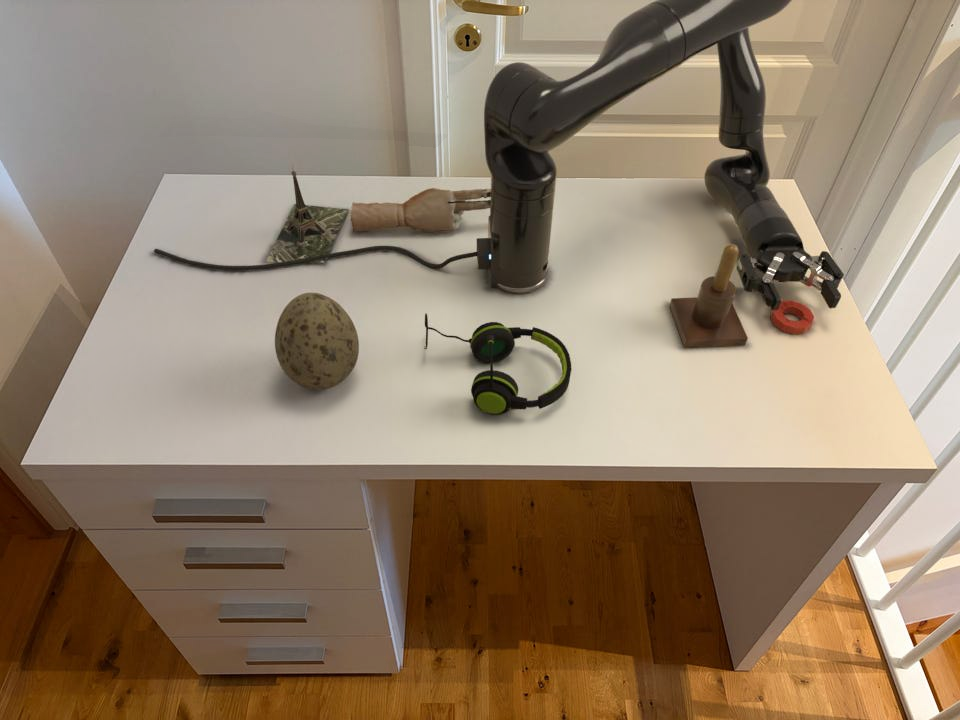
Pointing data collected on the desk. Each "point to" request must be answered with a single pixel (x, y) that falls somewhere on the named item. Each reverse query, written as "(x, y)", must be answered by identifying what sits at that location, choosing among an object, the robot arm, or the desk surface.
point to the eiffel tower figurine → (307, 231)
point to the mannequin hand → (420, 211)
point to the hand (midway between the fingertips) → (806, 305)
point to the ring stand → (711, 309)
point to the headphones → (499, 388)
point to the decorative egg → (316, 342)
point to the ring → (791, 325)
